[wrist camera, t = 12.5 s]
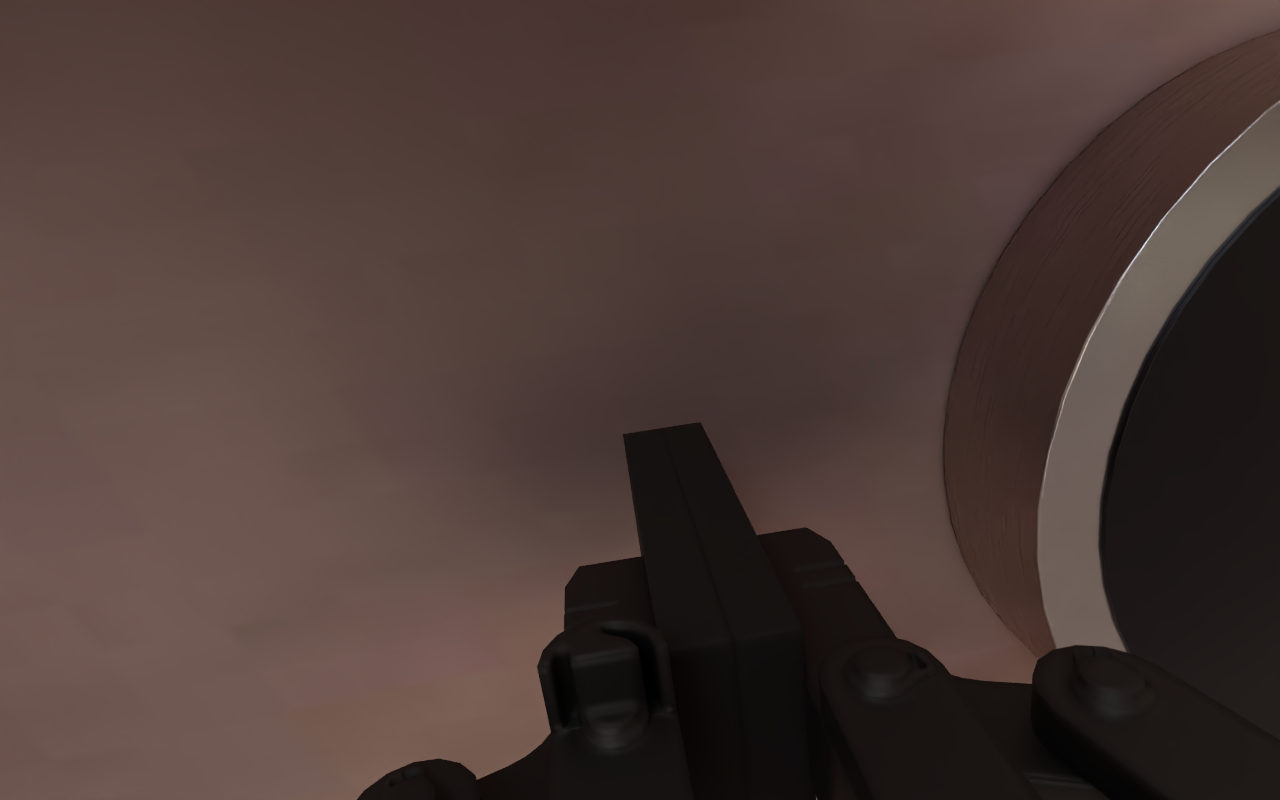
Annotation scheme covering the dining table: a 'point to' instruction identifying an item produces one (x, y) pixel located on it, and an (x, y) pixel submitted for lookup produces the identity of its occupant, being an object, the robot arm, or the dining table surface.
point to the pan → (1139, 395)
